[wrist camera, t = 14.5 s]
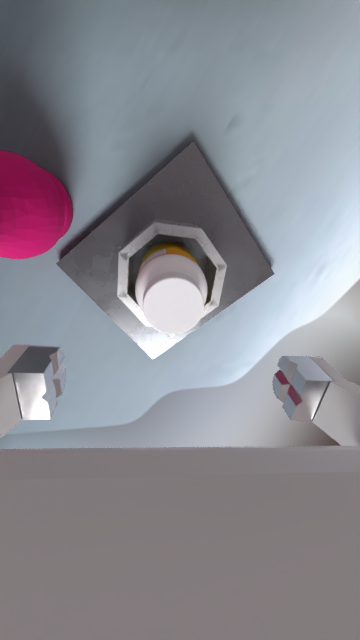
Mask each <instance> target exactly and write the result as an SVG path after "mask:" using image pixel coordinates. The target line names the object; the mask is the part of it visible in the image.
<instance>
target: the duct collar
mask: <svg viewBox="0 0 360 640" xmlns="http://www.w3.org/2000/svg"><path fill="white" fill-rule="evenodd" d="M162 242H176V243H179V244H181V245H183V246H184V247H186V248H187V249H188V250H189V251H190V252H191V253H192V255H193V257H194V258H195V260H196V261H197V263H198V265H199V267H200V268H201V270H202V272H203V274H204V276H205V279H206V282H207V288H208V289H207V298H206V302H205V304H204V311H203V314H202V317H201V319H200V320H199V322H198V323H197V324H196V325H195V326H194V327H193V328H191V329H190V330H188V331H186V332H183V333H180V334H166V333H162V332H160V331H158V330H156V329H154V328H153V327H152V326H151V325H150V324H149V323H148V321H147V320H146V318H145V316H144V313H143V312H142V310H141V309H140V307H139V305H138V303H137V300H136V295H135V285H136V280H137V276H138V273H139V269H140V265H141V262H142V259H143V257H144V255H145V254H146V252H147V251H148V250H149V249H150V248H151V247H153V246H154V245H156V244H159V243H162ZM56 264H57V265H58V266H59V267H60V268H61V269H62V270H63V271H64V272H65V273H66V274H67V275H68V276H69V277H70V278H71V279H72V280H73V281H74V282H75V283H76V284H77V285H78V286H79V287H80V288H81V289H82V290H83V291H84V292H85V293H86V294H87V295H88V296H89V297H90V298H91V299H92V300H93V301H94V302H95V303H96V304H97V305H98V306H99V307H100V308H101V309H102V310H103V311H104V312H105V313H106V314H107V315H108V316H109V317H110V318H111V319H112V320H113V321H114V322H115V323H116V324H117V325H118V326H119V327H120V328H121V329H122V330H124V331H125V332H126V333H127V334H128V335H129V336H130V337H131V338H132V339H133V340H134V341H135V342H136V343H137V344H138V345H139V346H140V347H141V348H142V349H143V350H144V351H145V352H146V353H147V354H148V355H149V356H150V357H151V358H152V359H154V358H156V357H157V356H159V355H160V354H161V353H163V352H164V351H166V350H167V349H168V348H170V347H171V346H173V345H174V344H176V343H177V342H178V341H180V340H181V339H183V338H184V337H185V336H187V335H188V334H190V333H191V332H193V331H194V330H195V329H197V328H198V327H200V326H201V325H202V324H204V323H205V322H207V321H208V320H210V319H211V318H212V317H214V316H215V315H217V314H218V313H219V312H221V311H222V310H224V309H225V308H227V307H228V306H229V305H231V304H232V303H234V302H235V301H236V300H238V299H239V298H241V297H242V296H244V295H245V294H246V293H248V292H249V291H251V290H252V289H253V288H255V287H256V286H258V285H259V284H261V283H262V282H263V281H265V280H266V279H268V278H269V277H270V276H272V275H273V274H274V272H273V271H272V269H271V267H270V266H269V264H268V262H267V261H266V259H265V257H264V256H263V254H262V253H261V251H260V249H259V248H258V246H257V244H256V243H255V241H254V239H253V238H252V236H251V235H250V233H249V231H248V230H247V228H246V226H245V225H244V223H243V221H242V220H241V218H240V216H239V215H238V213H237V212H236V210H235V208H234V207H233V205H232V203H231V202H230V200H229V198H228V197H227V195H226V193H225V192H224V190H223V189H222V187H221V185H220V184H219V182H218V180H217V179H216V177H215V175H214V174H213V172H212V171H211V169H210V167H209V166H208V164H207V162H206V161H205V159H204V157H203V156H202V154H201V152H200V151H199V149H198V148H197V146H196V144H195V143H194V141H193V142H192V143H191V144H189V145H188V146H187V147H186V148H185V149H184V150H183V151H182V152H180V153H179V154H178V155H177V156H176V157H175V158H174V159H173V160H172V161H170V162H169V163H168V164H167V165H166V166H165V167H164V168H163V169H161V170H160V171H159V172H158V173H157V174H156V175H155V176H154V177H153V178H151V179H150V180H149V181H148V182H147V183H146V184H145V185H144V186H142V187H141V188H140V189H139V190H138V191H137V192H136V193H135V194H133V195H132V196H131V197H130V198H129V199H128V200H127V201H126V202H125V203H123V204H122V205H121V206H120V207H119V208H118V209H117V210H116V211H114V212H113V213H112V214H111V215H110V216H109V217H108V218H107V219H106V220H104V221H103V222H102V223H101V224H100V225H99V226H98V227H97V228H95V229H94V230H93V231H92V232H91V233H90V234H89V235H88V236H87V237H85V238H84V239H83V240H82V241H81V242H80V243H79V244H78V245H76V246H75V247H74V248H73V249H72V250H71V251H70V252H69V253H68V254H66V255H65V256H64V257H63V258H62V259H61V260H60V261H59V262H57V263H56Z"/></svg>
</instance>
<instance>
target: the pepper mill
mask: <svg viewBox="0 0 360 640" xmlns="http://www.w3.org/2000/svg"><path fill="white" fill-rule="evenodd" d="M72 217H73V209H72V202H71V199H70V196H69V194H68V192H67V191H66V189H65V187H64V186H63V184H62V183H61V182H60V181H59V180H58V179H57V178H56V177H55V176H54V175H53V174H51V173H50V172H48V171H46V170H44V169H42V168H40V167H39V166H37V165H36V164H35V163H33V162H32V161H30V160H29V159H27V158H25V157H23V156H21V155H18V154H16V153H13V152H8V151H2V150H0V257H5V258H11V259H24V258H30V257H34V256H37V255H40V254H43V253H44V252H46V251H48V250H49V249H50V248H52V247H53V246H54V245H55V244H56V242H57V241H58V239H60V238H61V237H62V236H63V235H64V234H65V233H66V232H67V231H68V229H69V227H70V225H71V222H72Z"/></svg>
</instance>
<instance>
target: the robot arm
mask: <svg viewBox="0 0 360 640" xmlns="http://www.w3.org/2000/svg"><path fill="white" fill-rule="evenodd" d="M64 358H65V357H64V350H63V348H62V347H53V346H36V345H13V346H12V347H11V348H10V349H9V350H8V351H7V352H6V353H5V354H4V355H3V357H2V358H1V359H0V438H1V437H2V436H4V435H5V434H6V433H8V432H9V431H10V430H11V429H13V428H14V427H15V426H16V425H18V424H19V423H20V422H21V421H22V420H36V419H50V418H51V416H52V414H53V412H54V410H55V408H56V406H57V397H59V396H60V395H62V392H63V390H64V387H65V382H66V368H65V367H64V366H63V365H62V364H61V363H62V362H63V360H64ZM278 367H279V369H280V370H279V371H278V372H277V373H275V375H274V378H273V390H274V393H275V395H276V397H277V398H278V399H279V400H281V401H282V402H284V403H283V408H284V410H285V412H286V413H287V415H288V417H289V418H290V420H296V421H313V423H314V424H316V425H317V426H318V427H319V428H321V429H322V430H323V431H324V432H325V433H327V434H328V435H329V436H330V437H332V438H333V439H334V440H336V441H337V442H338V443H339V444H340V445H342V446H263V447H262V446H259V447H168V448H167V447H163V448H53V449H0V640H360V386H359V385H357V384H355V383H353V382H347V381H346V380H345V379H344V378H343V377H342V376H341V375H340V374H339V373H338V372H337V371H336V370H335V369H334V368H333V367H332V366H330V364H328V363H327V362H326V361H325V360H324V359H323V358H321V357H319V356H282V357H281V358H280V359H279V362H278Z"/></svg>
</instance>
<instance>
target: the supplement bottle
mask: <svg viewBox="0 0 360 640" xmlns="http://www.w3.org/2000/svg"><path fill="white" fill-rule="evenodd" d="M207 289H208V288H207V282H206V279H205V276H204V274H203V272H202V270H201V268H200V267H199V265H198V263H197V261H196V260H195V258H194V257H193V255H192V253H191V252H190V251H189V250H188V249H187V248H186V247H184V246H183V245H181V244H179V243H176V242H162V243H159V244H156V245H154V246H153V247H151V248H150V249H149V250H148V251H147V252H146V254H145V255H144V257H143V259H142V262H141V265H140V269H139V273H138V276H137V280H136V285H135V295H136V300H137V303H138V305H139V307H140V309H141V310H142V312H143V313H144V316H145V318H146V320H147V321H148V323H149V324H150V325H151V326H152V327H153V328H154V329H156V330H158V331H160V332H162V333H166V334H180V333H183V332H186V331H188V330H190V329H191V328H193V327H194V326H195V325H196V324H197V323H198V322H199V320H200V319H201V317H202V314H203V311H204V304H205V302H206V298H207Z"/></svg>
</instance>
